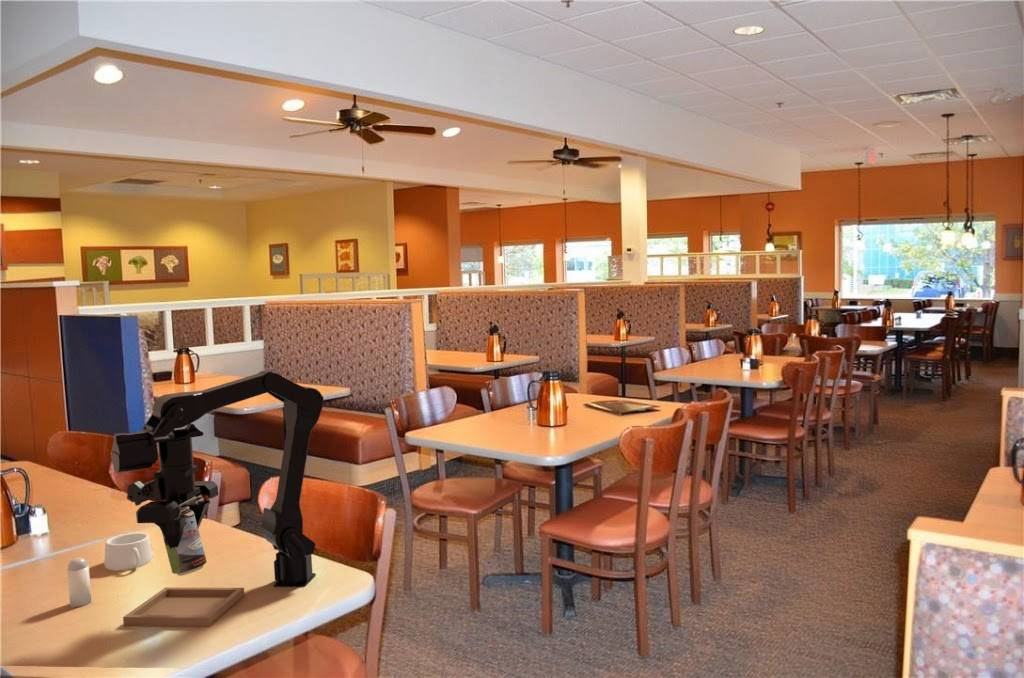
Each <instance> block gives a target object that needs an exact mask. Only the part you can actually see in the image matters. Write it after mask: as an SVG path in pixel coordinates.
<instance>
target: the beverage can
mask: <svg viewBox="0 0 1024 678" xmlns="http://www.w3.org/2000/svg"><path fill="white" fill-rule="evenodd" d="M180 515H186V520H185V524H184V529H183V534H182V538H181V540H180V543H179V546H178V548H177V547H173V548H171V549H170V547H169V545H168V543H167V541H166V539H165V536H164V534H163V532H162V531H161V535H162V538H163V541H164V542H163V543H164V545H165V549H166V553H167V557H168V562H169V565H170V568H171V573H172V574H175V575H177V576H178V577H179V576H185V575H188V574H192V573H196V572H197V571H199V570H201V569H203V568H204V565H206V563H207V558H206V554H205V553H206V552H205V550H204V546H203V543H202V539H201V534H200V531H199V529H198V526H197V522H196V518H195V514H194V512H193V511H192V510H191V509H189V506H187V507H182V508H180Z"/></svg>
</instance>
